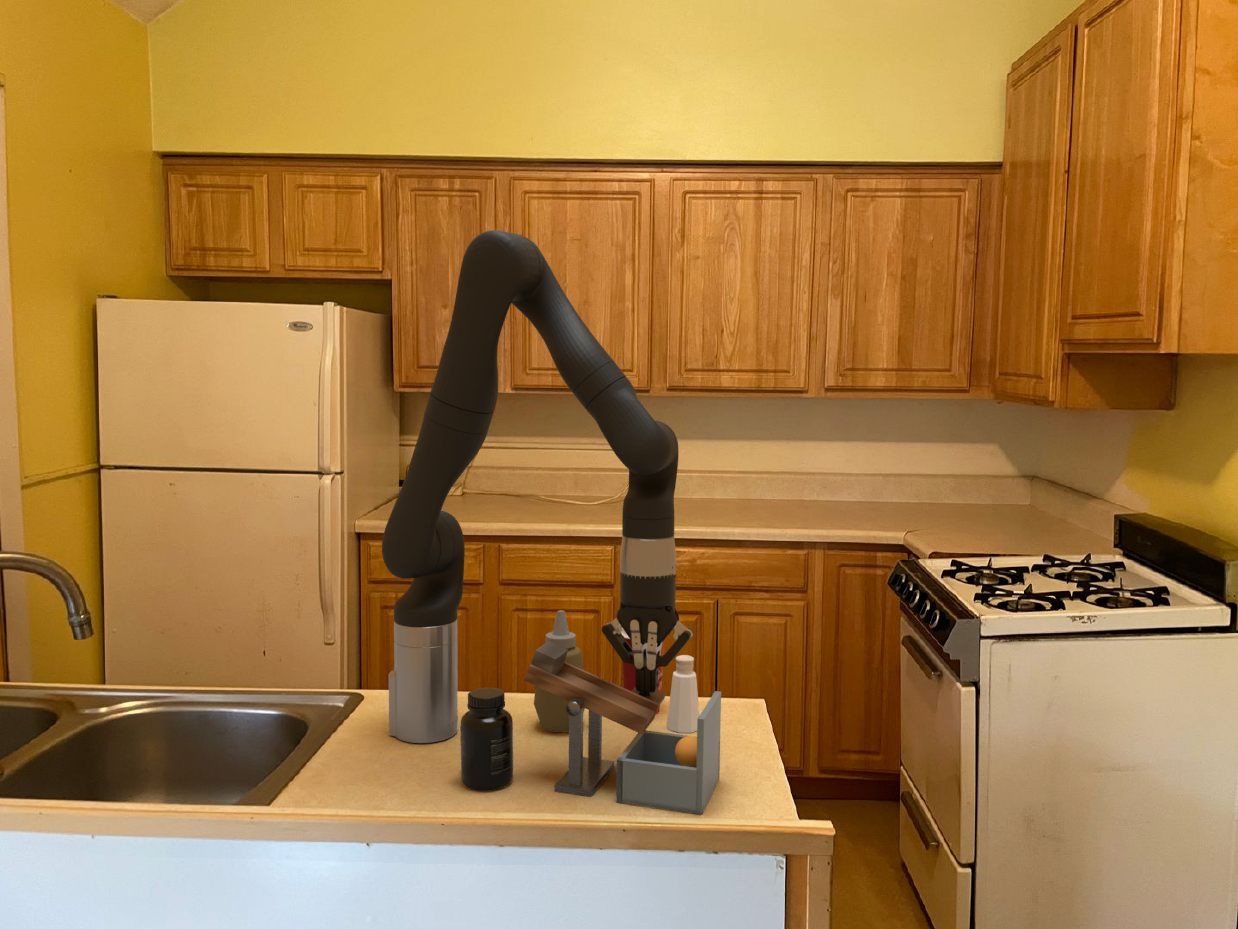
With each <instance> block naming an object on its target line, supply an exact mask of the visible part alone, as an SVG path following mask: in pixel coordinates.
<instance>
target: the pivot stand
mask: <svg viewBox="0 0 1238 929" xmlns="http://www.w3.org/2000/svg"><path fill="white" fill-rule="evenodd" d="M583 703H584V699H575V698H571V699H570V700H569V704H568V705H567V707H566V711H567V713H568V714H569V731H568V770H567V771H566V772H565V773H564V774H562V776H561V777H560V779H558V781H557V782H556V783H555V784H554V787H553V788H554V790H553V792H557V793H562V794H569V795H570V794H571V795H575V796H576V795H577V796H584V797H590V798H591V797H593V795H594V794H595V793H596V791H597V790H598V788H600V786H601V785H602V784H603V782H604V781H605V780H606V778H607V777H608V776H609V775H610V774H611V772H612V771H613V769H614V768H615V760H610V759H602V756H603V755H602V754H603V752H602V751H603V750H602V749H603V748H602V746H603V744H602V743H603V741H602V740H603V738H602V737H603V734H602V732H603V716H601V715H599V714H596V713H594V712H592V711H590V710H588V728H587V729H588V732H587V733H588V734H587V735H588V737H587V740H588V741H587V743H588V744H587V751H588V752H587V757H586V756H584V713H583Z"/></svg>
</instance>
